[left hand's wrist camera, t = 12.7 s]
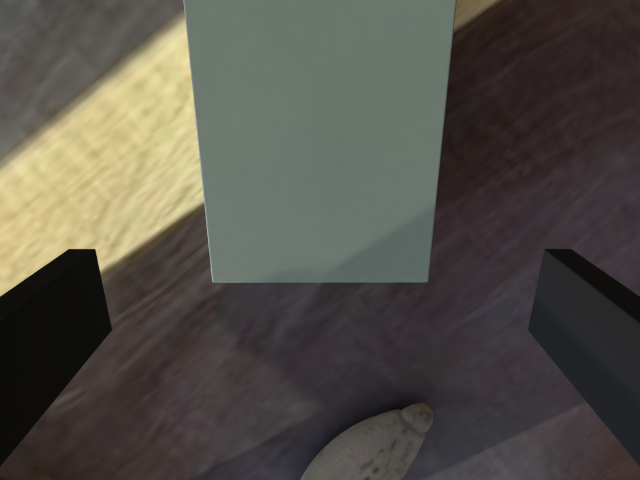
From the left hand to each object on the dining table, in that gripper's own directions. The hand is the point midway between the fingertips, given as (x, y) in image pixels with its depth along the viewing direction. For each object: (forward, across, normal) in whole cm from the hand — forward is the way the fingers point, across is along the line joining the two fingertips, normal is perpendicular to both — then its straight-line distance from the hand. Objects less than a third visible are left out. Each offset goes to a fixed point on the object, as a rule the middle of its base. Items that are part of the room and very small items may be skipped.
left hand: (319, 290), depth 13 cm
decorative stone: (+16, -3, +24) cm, 29 cm away
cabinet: (+16, 0, -5) cm, 17 cm away
